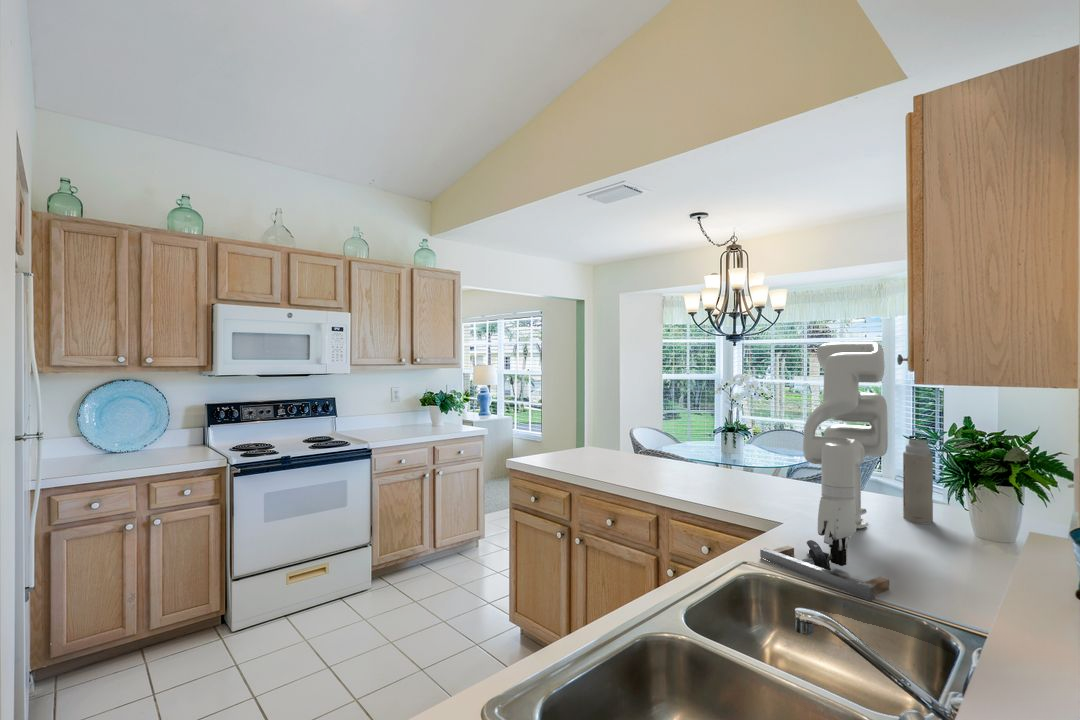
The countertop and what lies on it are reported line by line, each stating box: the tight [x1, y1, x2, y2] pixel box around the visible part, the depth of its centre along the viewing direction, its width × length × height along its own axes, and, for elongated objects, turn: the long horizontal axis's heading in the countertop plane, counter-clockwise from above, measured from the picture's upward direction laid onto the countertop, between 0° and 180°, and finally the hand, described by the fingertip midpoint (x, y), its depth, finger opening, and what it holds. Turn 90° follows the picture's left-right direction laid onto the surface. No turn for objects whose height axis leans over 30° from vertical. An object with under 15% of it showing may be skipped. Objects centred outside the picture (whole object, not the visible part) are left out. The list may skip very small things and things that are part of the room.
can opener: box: [801, 539, 832, 571], centre depth 139 cm, size 18×7×6 cm, turn 157°
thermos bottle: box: [902, 435, 934, 525], centre depth 176 cm, size 8×8×28 cm
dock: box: [759, 545, 890, 602], centre depth 132 cm, size 10×28×3 cm, turn 30°
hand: (838, 563), depth 135 cm, fingers closed
